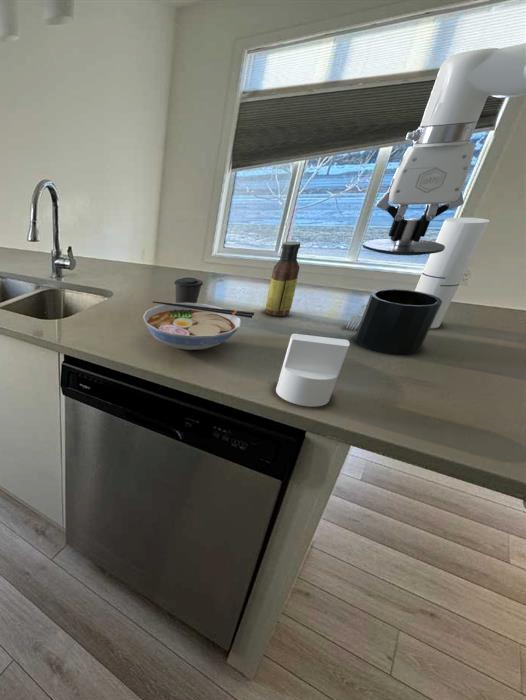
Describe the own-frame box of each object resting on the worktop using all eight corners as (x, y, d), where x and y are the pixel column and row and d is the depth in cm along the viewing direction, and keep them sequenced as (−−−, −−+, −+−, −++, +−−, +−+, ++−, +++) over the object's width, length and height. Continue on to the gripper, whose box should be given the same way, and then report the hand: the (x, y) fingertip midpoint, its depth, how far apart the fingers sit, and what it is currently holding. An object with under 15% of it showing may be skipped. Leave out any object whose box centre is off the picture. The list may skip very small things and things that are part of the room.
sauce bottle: (288, 310, 118) (307, 240, 108) (289, 318, 113) (309, 245, 103) (263, 308, 121) (279, 239, 111) (263, 316, 116) (280, 244, 106)
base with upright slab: (274, 400, 80) (290, 345, 74) (277, 379, 86) (291, 327, 80) (330, 410, 76) (351, 353, 70) (328, 388, 82) (347, 334, 76)
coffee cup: (196, 317, 119) (201, 284, 114) (167, 314, 123) (171, 281, 118) (201, 308, 125) (206, 276, 120) (174, 305, 129) (178, 274, 124)
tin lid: (433, 244, 86) (446, 213, 83) (451, 258, 76) (466, 224, 73) (357, 243, 92) (367, 214, 89) (365, 256, 82) (376, 225, 79)
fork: (374, 315, 116) (378, 306, 114) (356, 330, 103) (361, 320, 102) (362, 313, 117) (366, 304, 116) (343, 328, 105) (347, 317, 104)
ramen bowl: (121, 350, 104) (123, 321, 100) (157, 321, 119) (160, 294, 115) (224, 374, 90) (231, 341, 86) (251, 338, 105) (258, 308, 100)
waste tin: (413, 337, 97) (434, 291, 92) (424, 358, 89) (448, 308, 83) (352, 331, 103) (368, 287, 97) (357, 350, 95) (375, 303, 89)
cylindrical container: (404, 316, 108) (446, 216, 96) (441, 321, 104) (490, 218, 91) (399, 324, 104) (442, 221, 92) (437, 330, 100) (488, 223, 87)
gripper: (389, 141, 75) (356, 243, 84) (515, 131, 67) (464, 245, 77) (382, 140, 81) (352, 236, 90) (498, 130, 73) (452, 237, 82)
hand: (404, 239), depth 83 cm, fingers closed on tin lid, 2 cm apart
